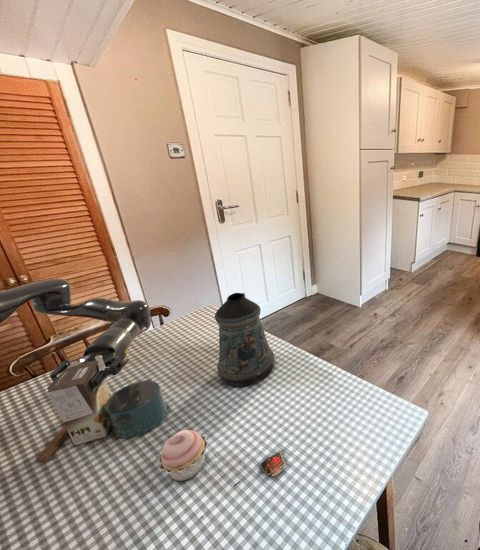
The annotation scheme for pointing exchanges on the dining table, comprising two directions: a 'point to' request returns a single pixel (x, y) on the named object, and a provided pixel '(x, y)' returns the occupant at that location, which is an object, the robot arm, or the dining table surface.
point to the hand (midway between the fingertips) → (71, 388)
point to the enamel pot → (136, 408)
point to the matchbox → (273, 464)
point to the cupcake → (183, 455)
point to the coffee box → (81, 403)
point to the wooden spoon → (53, 444)
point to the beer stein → (242, 343)
